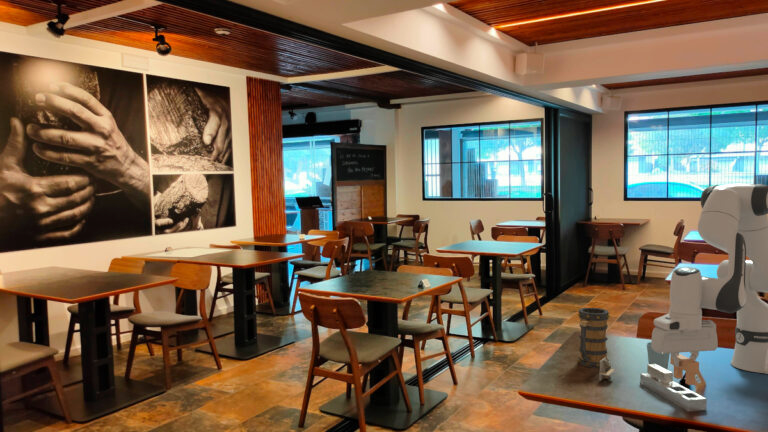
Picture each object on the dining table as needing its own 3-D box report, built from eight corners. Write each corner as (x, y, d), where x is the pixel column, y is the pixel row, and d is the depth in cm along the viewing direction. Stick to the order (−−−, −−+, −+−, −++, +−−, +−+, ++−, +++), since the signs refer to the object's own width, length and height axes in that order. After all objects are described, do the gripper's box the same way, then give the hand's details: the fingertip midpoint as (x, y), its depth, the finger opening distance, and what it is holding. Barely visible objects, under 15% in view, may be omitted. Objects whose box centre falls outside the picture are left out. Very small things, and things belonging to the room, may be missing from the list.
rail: (656, 382, 196) (656, 362, 196) (706, 410, 172) (706, 387, 172) (640, 383, 195) (640, 363, 195) (688, 411, 172) (688, 388, 171)
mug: (616, 362, 218) (617, 310, 217) (598, 374, 205) (599, 318, 204) (583, 355, 227) (583, 305, 225) (564, 366, 214) (564, 313, 213)
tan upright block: (678, 375, 182) (679, 353, 182) (698, 385, 173) (699, 362, 173) (670, 376, 182) (670, 354, 181) (689, 386, 173) (690, 363, 172)
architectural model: (615, 379, 201) (615, 358, 200) (608, 385, 195) (608, 364, 195) (605, 377, 203) (605, 357, 202) (598, 383, 197) (598, 362, 197)
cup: (675, 375, 203) (675, 346, 202) (659, 378, 200) (659, 349, 199) (657, 369, 210) (657, 340, 209) (641, 372, 207) (641, 343, 206)
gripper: (708, 317, 181) (707, 360, 182) (648, 320, 178) (647, 364, 179) (723, 322, 175) (722, 367, 176) (661, 325, 172) (660, 370, 172)
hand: (684, 365), depth 177 cm, fingers closed on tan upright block, 3 cm apart
